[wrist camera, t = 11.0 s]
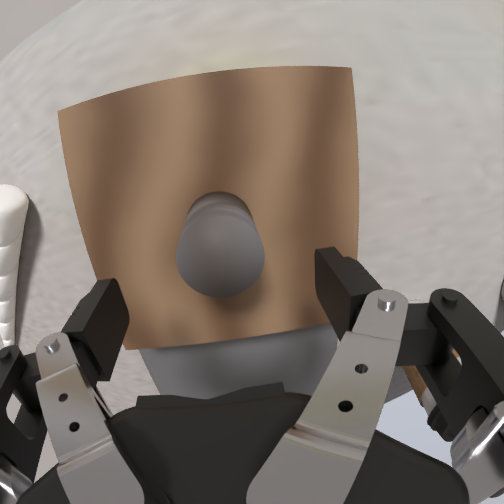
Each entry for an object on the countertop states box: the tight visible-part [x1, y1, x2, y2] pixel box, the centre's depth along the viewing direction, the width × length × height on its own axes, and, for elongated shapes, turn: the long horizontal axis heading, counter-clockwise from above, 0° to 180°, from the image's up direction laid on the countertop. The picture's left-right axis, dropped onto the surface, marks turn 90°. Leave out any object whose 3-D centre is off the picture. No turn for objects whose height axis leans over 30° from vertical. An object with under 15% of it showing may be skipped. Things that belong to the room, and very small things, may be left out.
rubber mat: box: [139, 323, 337, 399], centre depth 30 cm, size 20×20×1 cm
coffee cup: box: [402, 300, 462, 442], centre depth 23 cm, size 8×8×15 cm
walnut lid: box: [58, 66, 359, 350], centre depth 16 cm, size 18×18×6 cm
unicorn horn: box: [0, 184, 29, 347], centre depth 21 cm, size 5×24×5 cm, turn 150°
